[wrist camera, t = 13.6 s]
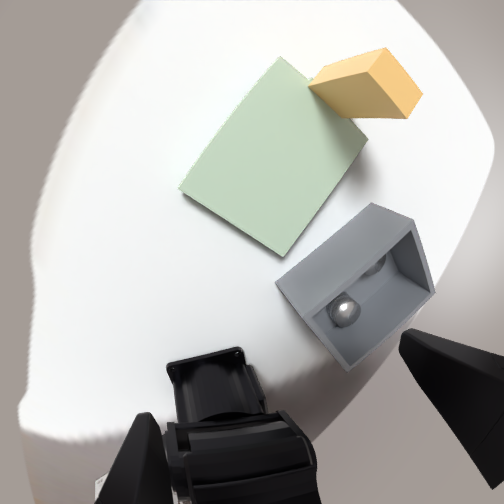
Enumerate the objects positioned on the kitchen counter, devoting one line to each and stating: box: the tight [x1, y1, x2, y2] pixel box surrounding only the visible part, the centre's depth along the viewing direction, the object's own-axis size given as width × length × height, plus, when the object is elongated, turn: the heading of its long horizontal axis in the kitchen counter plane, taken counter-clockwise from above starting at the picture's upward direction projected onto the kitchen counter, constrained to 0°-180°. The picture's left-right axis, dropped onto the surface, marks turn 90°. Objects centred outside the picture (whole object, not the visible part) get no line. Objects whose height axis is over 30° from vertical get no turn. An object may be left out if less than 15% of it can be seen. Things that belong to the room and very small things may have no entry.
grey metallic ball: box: [326, 292, 361, 327], centre depth 24 cm, size 2×2×2 cm
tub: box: [275, 203, 435, 373], centre depth 22 cm, size 10×8×5 cm
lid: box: [178, 47, 423, 257], centre depth 16 cm, size 12×8×8 cm
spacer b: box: [365, 254, 386, 275], centre depth 23 cm, size 2×2×2 cm
